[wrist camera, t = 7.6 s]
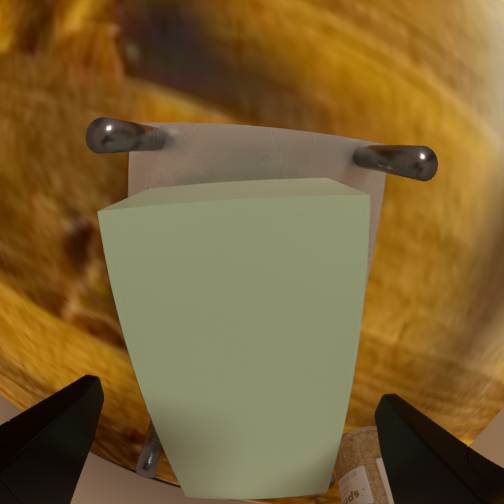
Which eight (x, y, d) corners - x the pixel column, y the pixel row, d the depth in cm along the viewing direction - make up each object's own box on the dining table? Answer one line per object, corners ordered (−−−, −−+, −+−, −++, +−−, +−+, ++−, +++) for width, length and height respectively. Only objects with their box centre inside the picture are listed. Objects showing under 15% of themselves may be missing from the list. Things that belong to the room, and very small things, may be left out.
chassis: (138, 124, 13) (70, 113, 7) (380, 145, 13) (455, 147, 7) (151, 401, 18) (127, 475, 12) (324, 412, 18) (341, 487, 12)
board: (149, 188, 10) (97, 211, 6) (327, 177, 10) (370, 195, 6) (195, 433, 14) (186, 497, 10) (314, 429, 14) (327, 492, 10)
